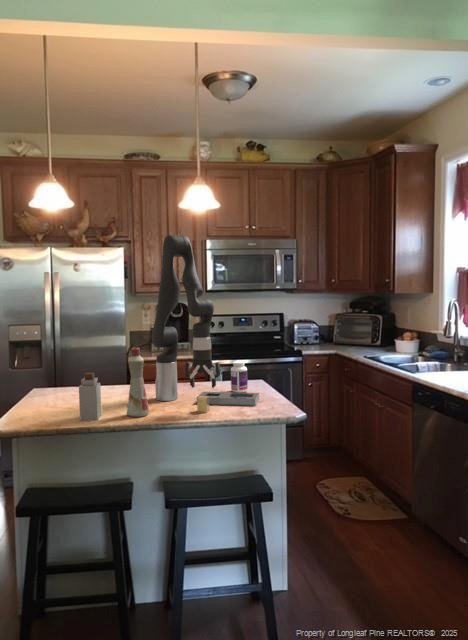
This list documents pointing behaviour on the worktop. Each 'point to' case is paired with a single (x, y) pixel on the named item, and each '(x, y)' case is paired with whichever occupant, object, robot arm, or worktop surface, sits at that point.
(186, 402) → the worktop surface
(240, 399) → the silver slotted board
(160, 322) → the robot arm
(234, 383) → the pill bottle
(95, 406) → the perfume bottle
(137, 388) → the bottle
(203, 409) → the block
